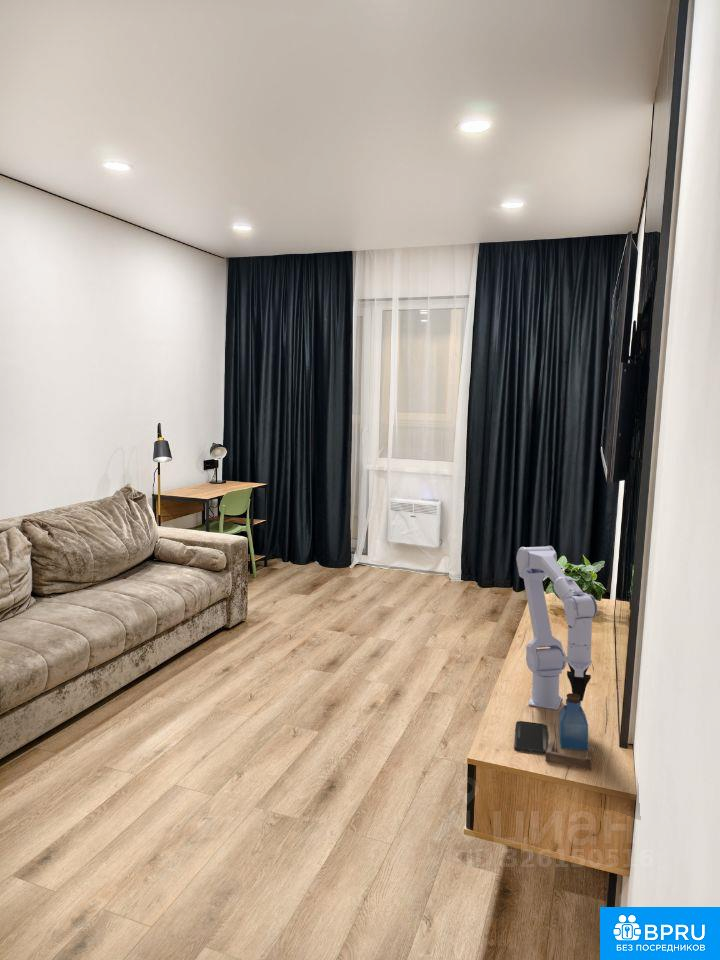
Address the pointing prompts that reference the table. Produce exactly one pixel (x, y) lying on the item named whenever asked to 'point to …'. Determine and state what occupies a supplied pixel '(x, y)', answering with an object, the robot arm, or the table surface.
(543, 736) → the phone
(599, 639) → the table surface
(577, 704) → the perfume bottle
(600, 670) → the table surface
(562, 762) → the bracket
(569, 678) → the robot arm
